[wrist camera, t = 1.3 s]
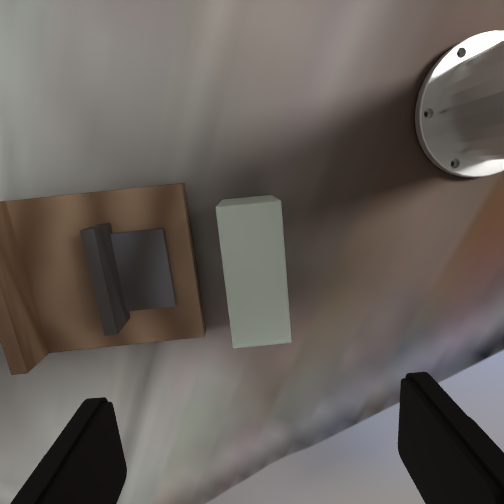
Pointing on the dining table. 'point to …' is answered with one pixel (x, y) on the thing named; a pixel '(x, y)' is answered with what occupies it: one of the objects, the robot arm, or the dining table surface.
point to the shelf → (96, 272)
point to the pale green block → (254, 270)
